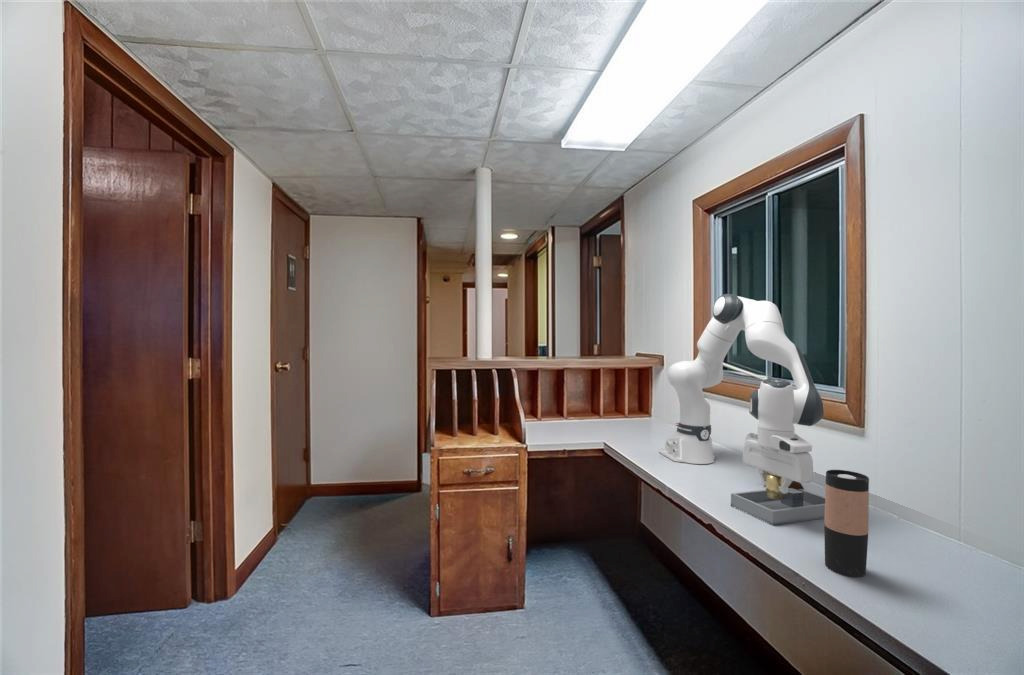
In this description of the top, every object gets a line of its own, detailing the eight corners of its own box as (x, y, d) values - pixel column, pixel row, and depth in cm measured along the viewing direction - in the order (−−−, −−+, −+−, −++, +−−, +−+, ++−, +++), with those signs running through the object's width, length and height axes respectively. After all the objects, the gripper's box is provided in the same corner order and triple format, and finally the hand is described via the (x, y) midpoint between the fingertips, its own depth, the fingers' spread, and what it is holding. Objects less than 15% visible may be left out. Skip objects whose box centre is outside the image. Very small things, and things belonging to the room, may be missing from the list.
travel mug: (816, 559, 106) (818, 468, 106) (853, 561, 106) (855, 470, 105) (835, 576, 99) (838, 479, 99) (876, 579, 98) (878, 480, 98)
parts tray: (730, 505, 139) (731, 493, 139) (794, 498, 146) (794, 486, 146) (772, 525, 125) (772, 511, 125) (840, 516, 132) (840, 502, 132)
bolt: (771, 488, 159) (797, 503, 144) (758, 480, 159) (782, 494, 144) (780, 473, 159) (807, 486, 144) (767, 465, 159) (792, 477, 144)
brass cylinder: (762, 495, 133) (763, 473, 133) (774, 494, 134) (774, 472, 134) (774, 500, 129) (775, 477, 129) (786, 498, 131) (786, 476, 130)
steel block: (780, 502, 140) (780, 489, 140) (791, 501, 142) (791, 487, 142) (792, 507, 137) (792, 493, 137) (803, 506, 138) (803, 492, 138)
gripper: (737, 432, 141) (736, 479, 141) (799, 448, 121) (798, 503, 121) (754, 431, 143) (754, 477, 143) (818, 446, 123) (817, 500, 123)
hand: (774, 489), depth 132 cm, fingers closed on brass cylinder, 4 cm apart
